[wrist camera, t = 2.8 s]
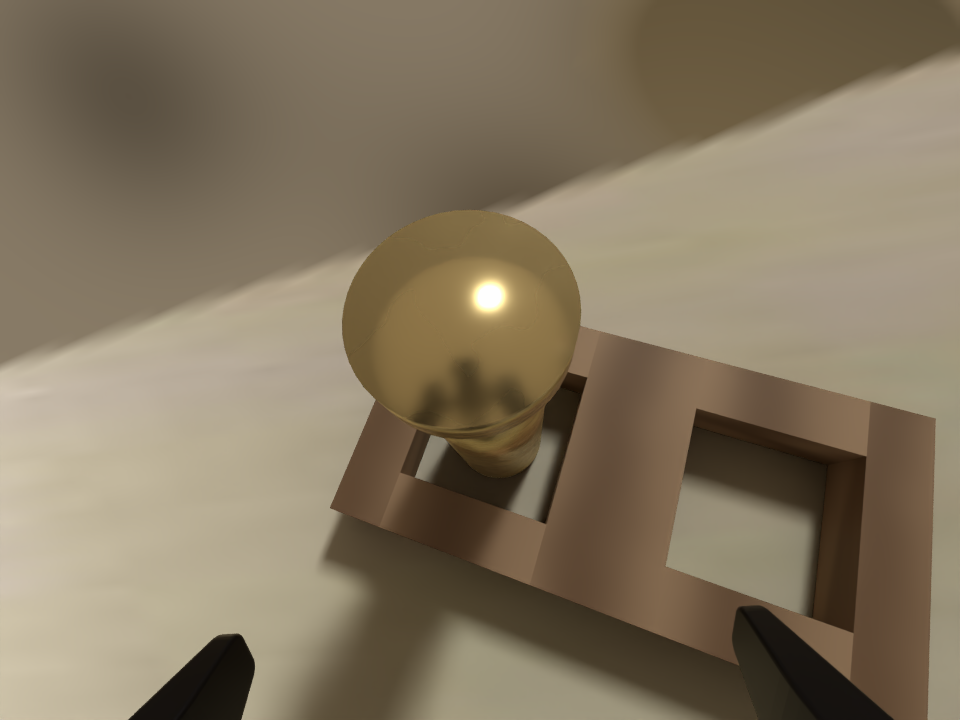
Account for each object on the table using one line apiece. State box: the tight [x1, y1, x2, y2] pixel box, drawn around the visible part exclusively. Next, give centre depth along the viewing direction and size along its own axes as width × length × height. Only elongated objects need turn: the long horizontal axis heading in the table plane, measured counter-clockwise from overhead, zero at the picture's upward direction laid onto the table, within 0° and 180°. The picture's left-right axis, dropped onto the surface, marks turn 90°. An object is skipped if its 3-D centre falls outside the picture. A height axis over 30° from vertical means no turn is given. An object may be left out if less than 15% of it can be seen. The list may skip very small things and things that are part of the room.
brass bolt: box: [342, 210, 581, 478], centre depth 16 cm, size 5×5×14 cm
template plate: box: [330, 326, 936, 720], centre depth 20 cm, size 22×11×2 cm, turn 71°
